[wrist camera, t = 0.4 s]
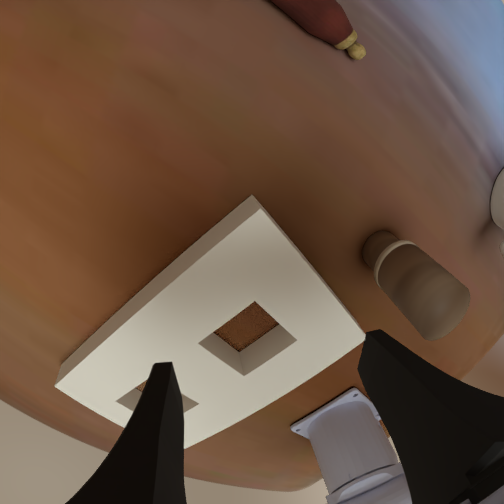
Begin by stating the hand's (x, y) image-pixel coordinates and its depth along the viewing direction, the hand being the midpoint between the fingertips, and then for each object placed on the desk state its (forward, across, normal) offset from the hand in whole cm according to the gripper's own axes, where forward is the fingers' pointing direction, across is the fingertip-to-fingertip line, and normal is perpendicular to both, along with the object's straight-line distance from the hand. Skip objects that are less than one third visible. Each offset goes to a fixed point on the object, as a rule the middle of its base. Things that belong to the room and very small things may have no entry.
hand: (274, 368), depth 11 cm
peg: (+10, -10, +1) cm, 14 cm away
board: (+10, +3, +8) cm, 13 cm away
